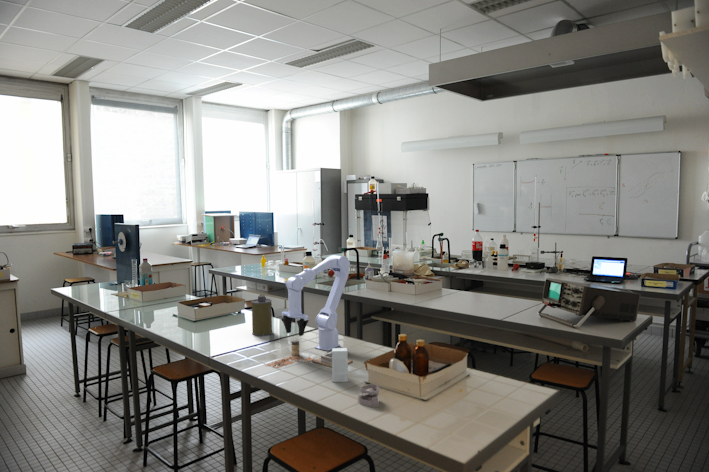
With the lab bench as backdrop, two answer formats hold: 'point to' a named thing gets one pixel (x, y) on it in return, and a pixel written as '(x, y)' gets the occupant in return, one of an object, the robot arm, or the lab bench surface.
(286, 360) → the bark
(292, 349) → the wood peg
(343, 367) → the skincare box
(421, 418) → the lab bench surface
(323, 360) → the holder board
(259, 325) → the canister
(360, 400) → the dental mold
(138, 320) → the lab bench surface
